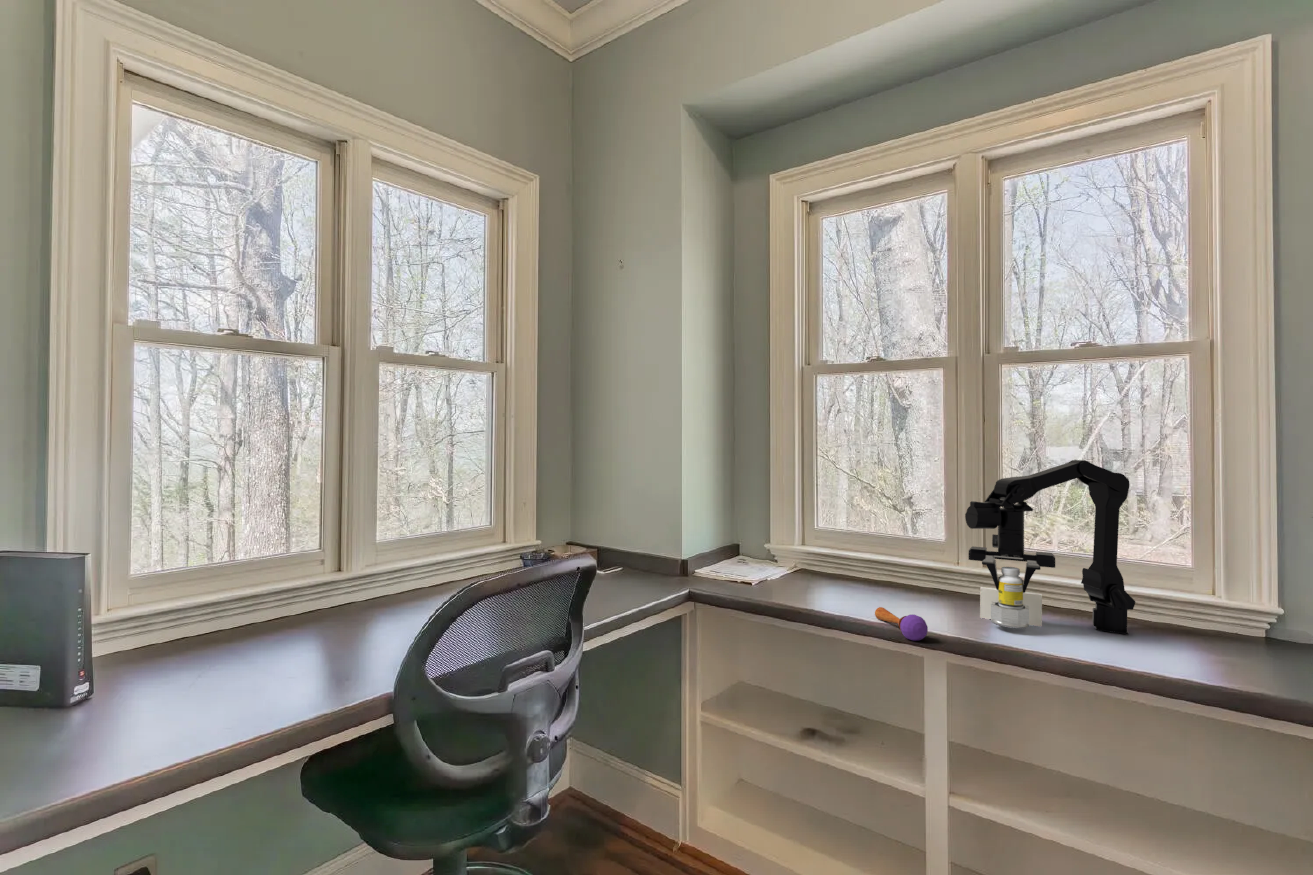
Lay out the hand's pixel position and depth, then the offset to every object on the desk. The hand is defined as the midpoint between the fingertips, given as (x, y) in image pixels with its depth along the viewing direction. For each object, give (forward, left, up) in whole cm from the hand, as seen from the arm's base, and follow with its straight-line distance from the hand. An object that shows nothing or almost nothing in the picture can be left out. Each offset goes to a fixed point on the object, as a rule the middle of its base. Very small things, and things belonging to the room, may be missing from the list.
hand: (1010, 590), depth 156 cm
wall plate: (0, -8, -10) cm, 13 cm away
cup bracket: (0, -1, -8) cm, 8 cm away
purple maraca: (+24, +16, -10) cm, 30 cm away
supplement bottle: (0, 0, -4) cm, 4 cm away
